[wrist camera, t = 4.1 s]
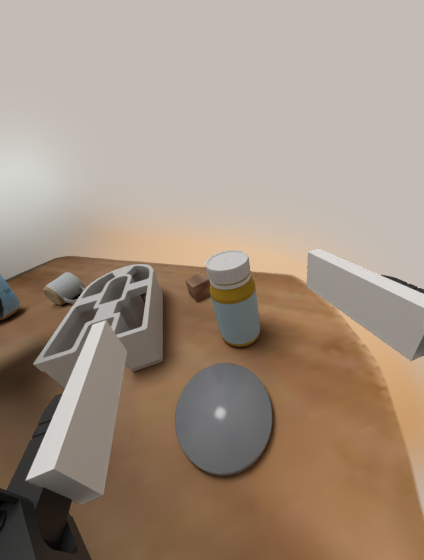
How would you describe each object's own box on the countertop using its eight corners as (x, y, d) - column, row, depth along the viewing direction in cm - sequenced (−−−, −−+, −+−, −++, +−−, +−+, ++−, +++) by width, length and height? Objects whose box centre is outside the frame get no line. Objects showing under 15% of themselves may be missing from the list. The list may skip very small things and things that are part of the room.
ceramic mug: (52, 305, 61) (35, 285, 57) (75, 290, 67) (62, 271, 63) (72, 309, 56) (56, 288, 52) (95, 292, 62) (82, 272, 58)
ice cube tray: (68, 397, 32) (31, 365, 27) (109, 301, 56) (93, 275, 51) (166, 364, 33) (147, 328, 29) (165, 284, 57) (154, 258, 52)
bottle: (263, 320, 36) (255, 247, 28) (257, 352, 31) (245, 272, 23) (227, 317, 39) (212, 250, 31) (216, 346, 34) (194, 272, 26)
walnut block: (197, 302, 46) (192, 287, 43) (190, 294, 49) (185, 280, 47) (213, 294, 47) (209, 279, 45) (204, 287, 51) (200, 273, 48)
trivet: (185, 498, 19) (181, 495, 18) (173, 385, 29) (171, 381, 28) (294, 447, 20) (294, 443, 20) (247, 356, 30) (246, 352, 30)
